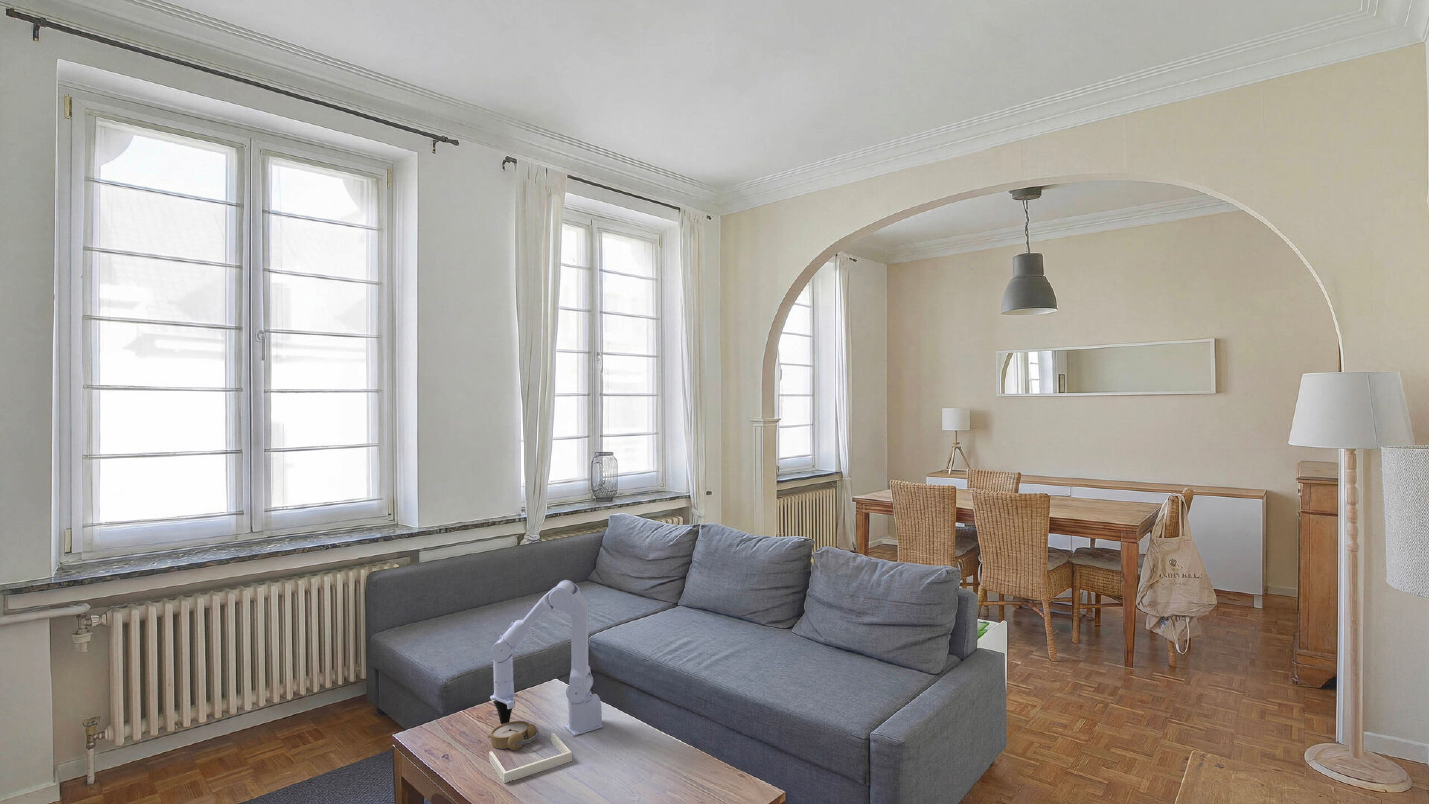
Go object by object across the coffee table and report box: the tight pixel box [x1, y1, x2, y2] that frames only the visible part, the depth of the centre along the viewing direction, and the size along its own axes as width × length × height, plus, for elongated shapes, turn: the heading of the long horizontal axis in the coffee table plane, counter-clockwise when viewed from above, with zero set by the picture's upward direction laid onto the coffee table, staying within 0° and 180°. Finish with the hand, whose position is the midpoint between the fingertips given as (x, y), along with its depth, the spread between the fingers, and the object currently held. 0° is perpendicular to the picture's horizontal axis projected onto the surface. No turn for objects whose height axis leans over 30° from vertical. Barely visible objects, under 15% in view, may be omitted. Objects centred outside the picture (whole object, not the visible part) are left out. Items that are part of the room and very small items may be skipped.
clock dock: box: [488, 732, 573, 784], centre depth 191 cm, size 19×14×2 cm
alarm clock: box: [487, 720, 539, 751], centre depth 203 cm, size 11×5×15 cm
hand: (504, 724), depth 211 cm, fingers closed
